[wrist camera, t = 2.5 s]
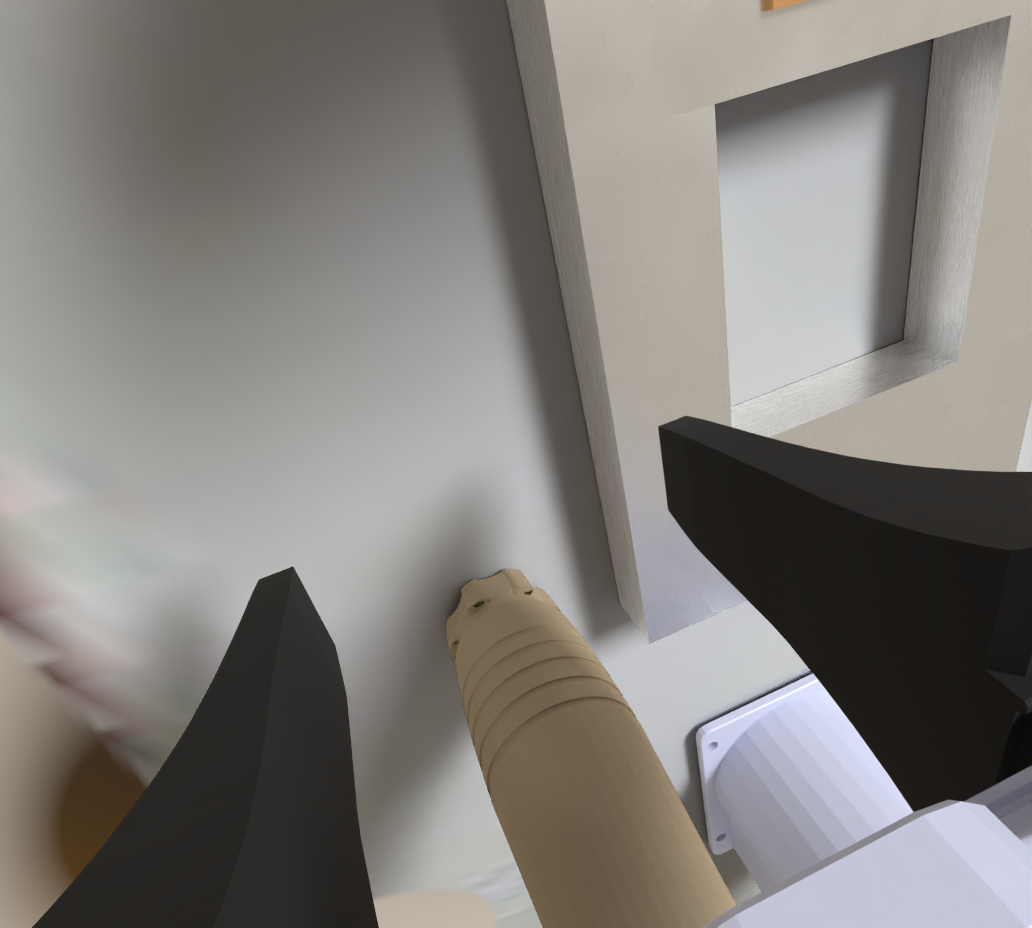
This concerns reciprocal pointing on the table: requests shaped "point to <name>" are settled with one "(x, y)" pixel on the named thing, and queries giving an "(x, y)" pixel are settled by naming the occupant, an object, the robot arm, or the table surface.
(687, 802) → the table surface
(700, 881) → the handle
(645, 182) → the rack plate
